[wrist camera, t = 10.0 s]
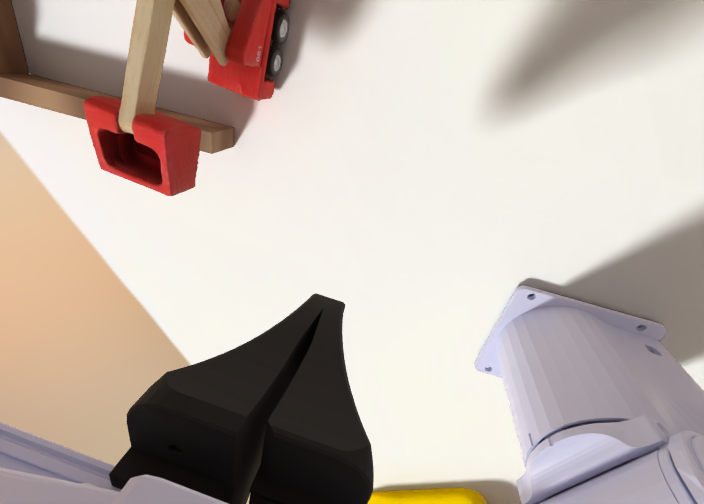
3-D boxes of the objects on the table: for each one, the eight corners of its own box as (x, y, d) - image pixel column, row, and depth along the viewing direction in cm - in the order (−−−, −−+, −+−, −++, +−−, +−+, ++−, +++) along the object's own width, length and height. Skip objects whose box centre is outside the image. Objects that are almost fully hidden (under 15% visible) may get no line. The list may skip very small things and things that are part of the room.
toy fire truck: (320, -132, 15) (177, -420, 6) (265, 157, 22) (161, 205, 13) (252, -157, 15) (22, -473, 6) (219, 139, 22) (86, 175, 13)
